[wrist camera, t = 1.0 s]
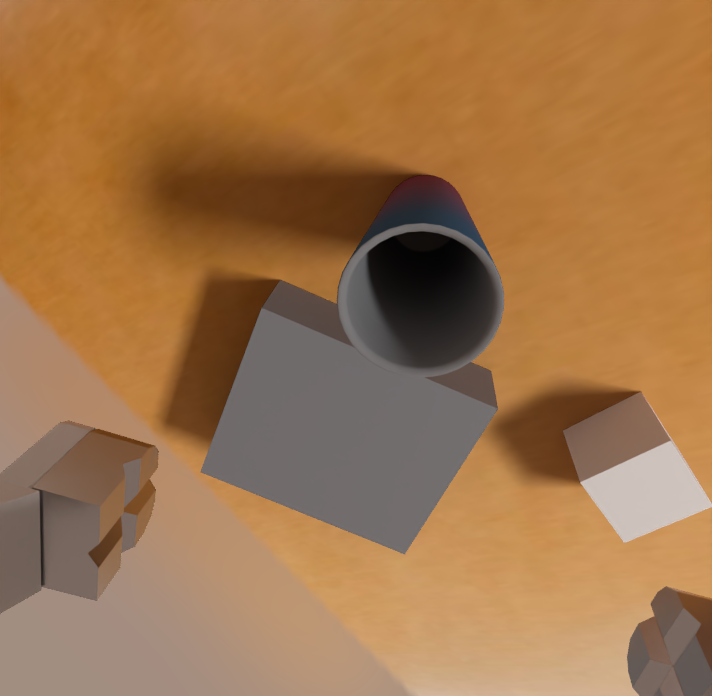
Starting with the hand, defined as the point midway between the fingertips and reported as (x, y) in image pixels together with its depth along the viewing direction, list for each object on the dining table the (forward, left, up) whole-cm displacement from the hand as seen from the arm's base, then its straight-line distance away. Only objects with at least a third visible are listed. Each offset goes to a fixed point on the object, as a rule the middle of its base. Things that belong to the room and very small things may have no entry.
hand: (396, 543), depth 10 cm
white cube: (+21, -11, -31) cm, 39 cm away
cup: (+1, -2, -31) cm, 31 cm away
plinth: (+2, -17, -31) cm, 35 cm away
